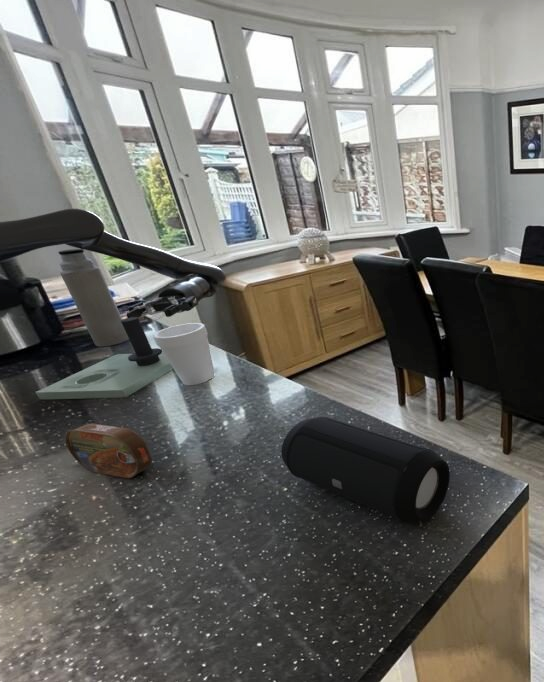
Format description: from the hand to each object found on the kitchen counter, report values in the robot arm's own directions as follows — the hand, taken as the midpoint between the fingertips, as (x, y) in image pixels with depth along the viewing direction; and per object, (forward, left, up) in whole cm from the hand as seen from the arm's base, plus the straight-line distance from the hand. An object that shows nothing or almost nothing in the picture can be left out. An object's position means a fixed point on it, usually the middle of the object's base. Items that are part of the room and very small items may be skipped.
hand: (148, 315), depth 102 cm
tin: (+28, -44, -13) cm, 54 cm away
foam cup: (+18, -12, -13) cm, 25 cm away
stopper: (+1, -6, -11) cm, 12 cm away
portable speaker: (+73, -50, -13) cm, 89 cm away
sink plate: (-3, -10, -13) cm, 17 cm away
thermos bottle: (-28, +14, -13) cm, 34 cm away
